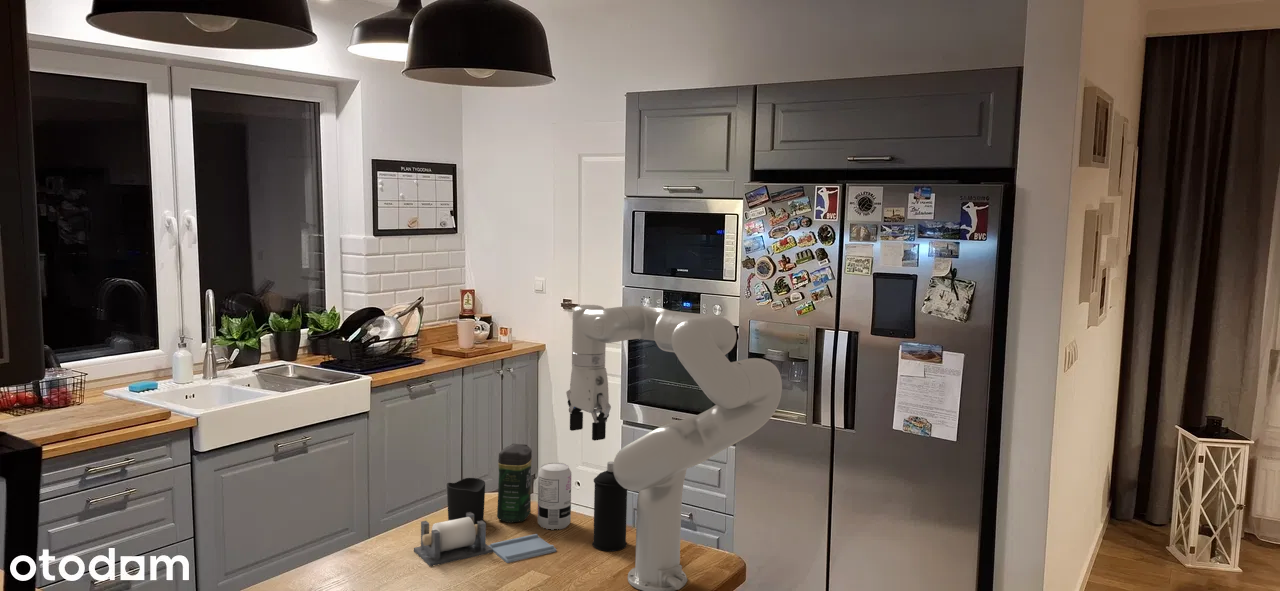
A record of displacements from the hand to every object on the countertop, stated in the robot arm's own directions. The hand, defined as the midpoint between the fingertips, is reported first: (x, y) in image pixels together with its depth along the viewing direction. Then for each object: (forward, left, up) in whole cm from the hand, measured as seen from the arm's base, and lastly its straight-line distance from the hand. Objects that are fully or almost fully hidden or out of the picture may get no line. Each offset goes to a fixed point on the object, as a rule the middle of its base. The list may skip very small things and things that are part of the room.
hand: (587, 434), depth 195 cm
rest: (+10, +11, -28) cm, 32 cm away
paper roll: (+17, +25, -24) cm, 39 cm away
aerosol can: (+2, -8, -28) cm, 30 cm away
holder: (+17, +25, -28) cm, 41 cm away
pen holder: (+33, +15, -28) cm, 46 cm away
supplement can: (+20, -3, -28) cm, 35 cm away
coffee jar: (+30, +3, -28) cm, 41 cm away
